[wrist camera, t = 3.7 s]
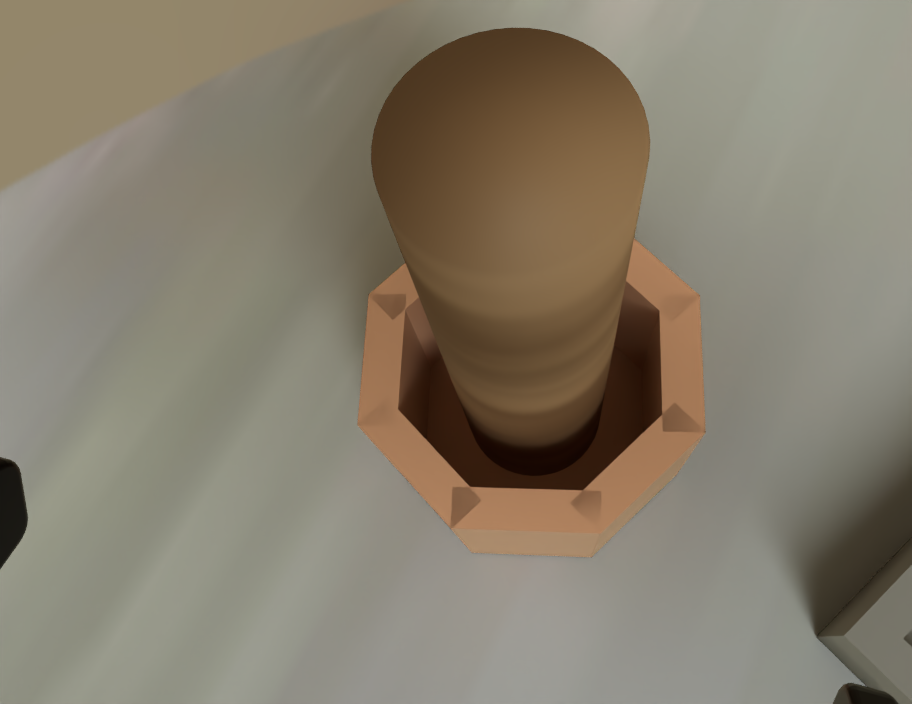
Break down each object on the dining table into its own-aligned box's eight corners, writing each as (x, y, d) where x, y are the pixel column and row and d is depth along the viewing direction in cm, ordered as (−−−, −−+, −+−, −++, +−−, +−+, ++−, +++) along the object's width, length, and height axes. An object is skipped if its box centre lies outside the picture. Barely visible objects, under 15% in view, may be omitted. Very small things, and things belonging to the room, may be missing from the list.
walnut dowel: (628, 412, 21) (709, 140, 10) (531, 503, 21) (501, 328, 9) (535, 323, 22) (513, -17, 11) (441, 409, 22) (316, 146, 10)
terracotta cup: (733, 419, 21) (777, 362, 17) (530, 617, 20) (523, 608, 16) (538, 240, 23) (533, 150, 19) (345, 412, 22) (296, 356, 18)
